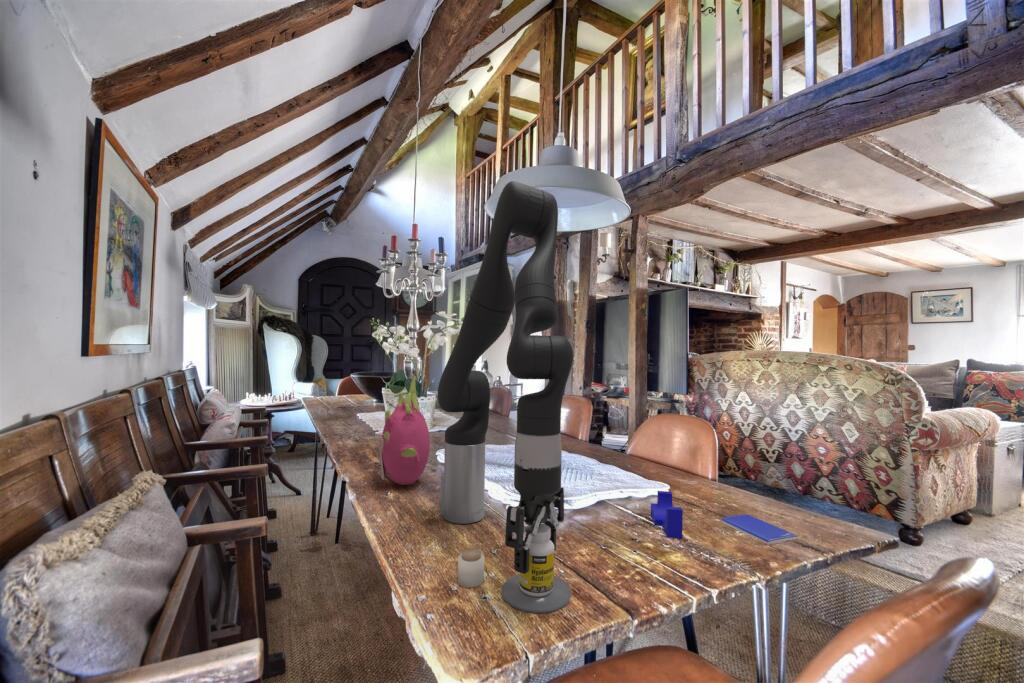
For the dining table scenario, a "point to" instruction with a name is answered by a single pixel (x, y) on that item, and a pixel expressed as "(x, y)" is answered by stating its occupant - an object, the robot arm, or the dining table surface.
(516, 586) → the slate coaster
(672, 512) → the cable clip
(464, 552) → the salt cellar
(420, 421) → the pink dragon fruit
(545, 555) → the supplement bottle
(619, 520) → the dining table surface
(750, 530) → the hard drive
